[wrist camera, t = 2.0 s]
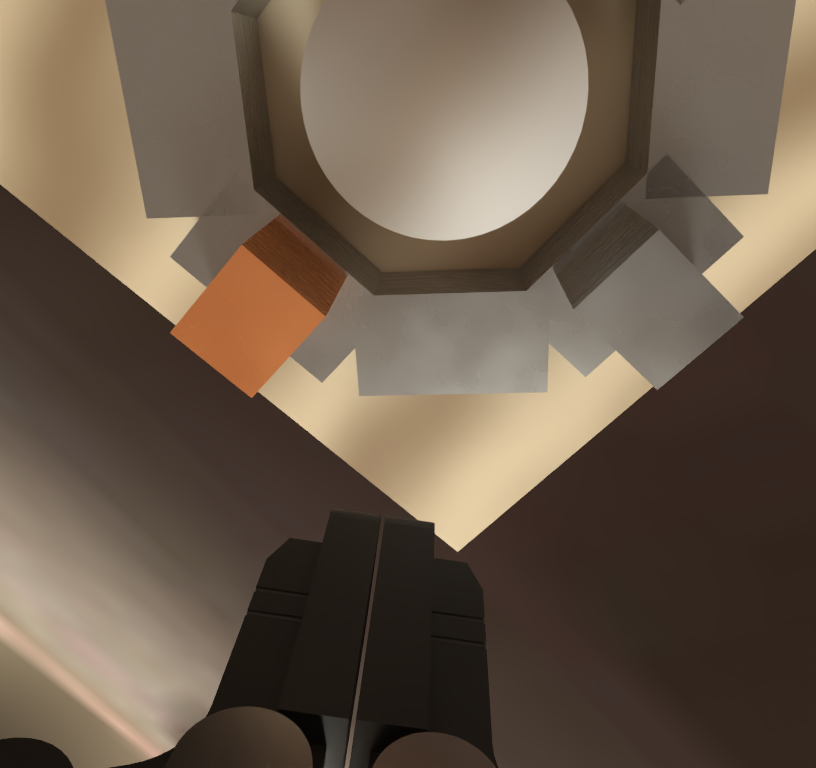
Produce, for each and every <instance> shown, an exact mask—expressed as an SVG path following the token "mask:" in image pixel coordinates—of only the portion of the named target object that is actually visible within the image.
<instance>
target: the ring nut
mask: <svg viewBox="0 0 816 768" xmlns="http://www.w3.org/2000/svg"><path fill="white" fill-rule="evenodd" d="M270 1H271V0H105V2H106V8H107V13H108V18H109V23H110V29H111V34H112V39H113V44H114V50H115V55H116V60H117V65H118V71H119V76H120V81H121V86H122V91H123V97H124V102H125V107H126V112H127V118H128V123H129V128H130V133H131V139H132V144H133V149H134V154H135V160H136V165H137V170H138V175H139V181H140V186H141V191H142V196H143V202H144V207H145V212H146V217H147V219H151V218H177V217H200V219H199V220H198V221H197V223H196V224H195V225H194V226H193V228H192V229H191V230H190V232H189V233H188V234H187V235H186V237H185V238H184V239H183V241H182V242H181V243H180V244H179V246H178V247H177V248H176V250H175V251H174V252H173V253H172V255H171V256H170V258H172V259H173V260H174V261H175V262H177V263H178V264H179V265H180V266H181V267H183V268H184V269H185V270H186V271H187V272H189V273H190V274H191V275H192V276H193V277H195V278H196V279H197V280H198V281H199V282H201V283H202V284H203V285H204V286H206V287H207V288H206V289H205V290H204V292H203V293H202V294H201V295H200V296H199V298H198V299H197V300H196V301H195V303H194V304H193V305H192V306H191V307H190V309H189V310H188V311H187V312H186V314H185V315H184V316H183V317H182V319H181V320H180V321H179V322H178V323H177V325H176V326H175V327H174V328H173V330H172V331H171V332H170V333H171V334H172V335H173V336H175V337H176V338H177V339H178V340H180V341H181V342H182V343H183V344H185V345H186V346H187V347H188V348H190V349H191V350H192V351H193V352H195V353H196V354H197V355H198V356H200V357H201V358H202V359H203V360H205V361H206V362H207V363H208V364H210V365H211V366H212V367H213V368H215V369H216V370H217V371H218V372H220V373H221V374H222V375H223V376H225V377H226V378H227V379H228V380H230V381H231V382H232V383H233V384H235V385H236V386H237V387H238V388H240V389H241V390H242V391H243V392H245V393H246V394H247V395H248V396H250V397H251V398H252V397H253V396H254V395H255V394H256V393H257V392H258V391H259V390H260V388H261V387H262V386H263V385H264V384H265V383H266V382H267V381H268V380H269V379H270V377H271V376H272V375H273V374H274V373H275V372H276V371H277V370H278V369H279V368H280V366H281V365H282V364H283V363H284V362H285V361H286V360H287V359H288V358H289V357H291V358H292V359H294V360H295V361H296V362H297V363H299V364H300V365H301V366H302V367H303V368H305V369H306V370H307V371H308V372H309V373H311V374H312V375H313V376H314V377H315V378H317V379H318V380H319V381H320V382H321V383H322V382H323V381H324V380H325V379H326V378H327V377H328V376H329V375H330V374H331V373H332V372H333V371H334V370H335V369H336V368H337V367H338V366H339V365H340V364H341V362H342V361H343V360H344V359H345V358H346V357H347V356H348V355H349V354H350V353H351V352H352V351H353V350H354V349H355V352H356V364H357V376H358V388H359V396H390V395H439V394H489V393H539V392H547V388H548V355H549V344H550V345H551V346H552V347H553V348H555V349H556V350H557V351H558V352H559V353H560V354H561V355H562V356H563V357H564V358H565V359H566V360H567V361H569V362H570V363H571V364H572V365H573V366H574V367H575V368H576V369H577V370H578V371H579V372H580V373H581V374H582V375H584V376H585V377H586V376H588V375H589V374H590V373H591V372H592V371H593V370H594V369H595V368H597V367H598V366H599V365H600V364H601V363H602V362H603V361H604V360H606V359H607V358H608V357H609V356H610V355H611V354H612V353H613V352H615V351H617V352H618V353H619V354H620V355H621V356H622V357H623V358H624V359H625V360H626V361H628V362H629V363H630V364H631V365H632V366H633V367H634V368H635V369H636V370H637V371H638V372H639V373H640V374H641V375H642V376H643V377H644V378H645V379H646V380H647V381H648V382H649V383H651V384H652V385H653V386H654V387H655V388H656V389H657V390H658V389H659V388H660V387H661V386H663V385H664V384H665V383H666V382H667V381H669V380H670V379H671V378H672V377H673V376H675V375H676V374H677V373H678V372H679V371H680V370H682V369H683V368H684V367H685V366H686V365H688V364H689V363H690V362H691V361H692V360H694V359H695V358H696V357H697V356H698V355H699V354H701V353H702V352H703V351H704V350H705V349H707V348H708V347H709V346H710V345H711V344H713V343H714V342H715V341H716V340H717V339H718V338H720V337H721V336H722V335H723V334H724V333H726V332H727V331H728V330H729V329H730V328H732V327H733V326H734V325H735V324H736V323H737V322H739V321H740V320H741V319H742V318H743V316H742V315H741V314H740V313H739V312H738V311H737V310H736V309H735V308H734V307H733V306H732V304H731V303H730V302H729V301H728V300H727V299H726V298H725V297H724V296H723V295H722V294H721V293H720V292H719V291H718V290H717V289H716V288H715V287H714V286H713V285H712V284H711V283H710V282H709V281H708V280H707V279H706V278H705V277H704V276H703V275H702V274H703V273H704V272H705V271H706V270H707V269H708V268H709V267H710V266H712V265H713V264H714V263H715V262H716V261H717V260H718V259H719V258H721V257H722V256H723V255H724V254H725V253H726V252H727V251H728V250H730V249H731V248H732V247H733V246H734V245H735V244H736V243H738V242H739V241H740V240H741V239H742V238H743V237H744V236H743V235H742V234H741V233H740V232H739V231H738V230H737V229H736V227H735V226H734V225H733V224H732V223H731V222H730V221H729V220H728V219H727V218H726V217H725V216H724V215H723V213H722V212H721V211H720V210H719V209H718V208H717V207H716V206H715V205H714V204H713V203H712V202H711V201H710V200H709V198H708V197H709V196H734V195H759V194H768V190H769V183H770V176H771V169H772V163H773V156H774V149H775V142H776V135H777V128H778V121H779V114H780V108H781V101H782V94H783V87H784V80H785V73H786V66H787V60H788V53H789V46H790V39H791V32H792V25H793V18H794V11H795V5H796V0H636V15H635V30H634V44H633V59H632V74H631V88H630V103H629V118H628V133H627V147H626V162H625V163H624V164H623V165H622V166H621V167H620V168H619V169H618V170H617V171H616V172H615V173H614V174H613V175H612V176H611V177H610V178H609V179H608V180H607V181H606V182H605V183H604V184H603V185H602V186H601V187H600V188H599V189H598V190H597V191H596V192H595V193H594V194H593V195H592V196H591V197H590V198H589V199H588V200H587V201H586V202H585V203H584V204H583V205H582V206H581V207H580V208H579V209H578V210H577V211H576V212H575V213H574V214H573V215H572V216H571V217H570V218H569V219H568V220H567V221H566V222H565V223H564V224H563V225H562V226H561V227H560V228H559V229H558V230H557V231H556V232H555V233H554V234H553V235H552V236H551V237H550V238H549V239H547V240H546V241H545V242H544V243H543V244H542V245H541V246H540V247H539V248H538V249H537V250H536V251H535V252H534V253H533V254H532V255H531V256H530V257H529V258H528V259H527V260H526V261H525V262H524V263H523V264H522V265H521V266H520V267H519V268H500V269H470V270H439V271H409V272H381V271H380V270H379V269H378V268H377V267H376V266H375V265H374V264H372V263H371V262H370V261H369V260H368V259H367V258H366V257H365V256H364V255H362V254H361V253H360V252H359V251H358V250H357V249H356V248H355V247H353V246H352V245H351V244H350V243H349V242H348V241H347V240H346V239H345V238H343V237H342V236H341V235H340V234H339V233H338V232H337V231H336V230H335V229H333V228H332V227H331V226H330V225H329V224H328V223H327V222H326V221H324V220H323V219H322V218H321V217H320V216H319V215H318V214H317V213H316V212H314V211H313V210H312V209H311V208H310V207H309V206H308V205H307V204H305V203H304V202H303V201H302V200H301V199H300V198H299V197H298V196H297V195H295V194H294V193H293V192H292V191H291V190H290V189H289V188H288V187H286V186H285V185H284V184H283V183H282V182H281V181H280V180H279V179H278V178H276V173H275V165H274V156H273V148H272V139H271V131H270V122H269V114H268V105H267V97H266V88H265V80H264V71H263V63H262V54H261V46H260V37H259V29H258V20H257V19H258V17H259V16H260V14H261V13H262V12H263V10H264V9H265V7H266V6H267V5H268V3H269V2H270Z"/></svg>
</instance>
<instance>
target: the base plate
mask: <svg viewBox="0 0 816 768" xmlns="http://www.w3.org/2000/svg"><path fill="white" fill-rule="evenodd" d="M635 15H636V0H271V1H270V2H269V3H268V5H267V6H266V7H265V9H264V10H263V12H262V13H261V14H260V16H259V17H258V19H257V20H258V29H259V37H260V46H261V54H262V63H263V71H264V80H265V88H266V97H267V105H268V114H269V122H270V131H271V139H272V148H273V156H274V165H275V173H276V178H278V179H279V180H280V181H281V182H282V183H283V184H284V185H285V186H286V187H288V188H289V189H290V190H291V191H292V192H293V193H294V194H295V195H297V196H298V197H299V198H300V199H301V200H302V201H303V202H304V203H305V204H307V205H308V206H309V207H310V208H311V209H312V210H313V211H314V212H316V213H317V214H318V215H319V216H320V217H321V218H322V219H323V220H324V221H326V222H327V223H328V224H329V225H330V226H331V227H332V228H333V229H335V230H336V231H337V232H338V233H339V234H340V235H341V236H342V237H343V238H345V239H346V240H347V241H348V242H349V243H350V244H351V245H352V246H353V247H355V248H356V249H357V250H358V251H359V252H360V253H361V254H362V255H364V256H365V257H366V258H367V259H368V260H369V261H370V262H371V263H372V264H374V265H375V266H376V267H377V268H378V269H379V270H380V271H381V272H409V271H439V270H470V269H500V268H519V267H520V266H521V265H522V264H523V263H524V262H525V261H526V260H527V259H528V258H529V257H530V256H531V255H532V254H533V253H534V252H535V251H536V250H537V249H538V248H539V247H540V246H541V245H542V244H543V243H544V242H545V241H546V240H547V239H549V238H550V237H551V236H552V235H553V234H554V233H555V232H556V231H557V230H558V229H559V228H560V227H561V226H562V225H563V224H564V223H565V222H566V221H567V220H568V219H569V218H570V217H571V216H572V215H573V214H574V213H575V212H576V211H577V210H578V209H579V208H580V207H581V206H582V205H583V204H584V203H585V202H586V201H587V200H588V199H589V198H590V197H591V196H592V195H593V194H594V193H595V192H596V191H597V190H598V189H599V188H600V187H601V186H602V185H603V184H604V183H605V182H606V181H607V180H608V179H609V178H610V177H611V176H612V175H613V174H614V173H615V172H616V171H617V170H618V169H619V168H620V167H621V166H622V165H623V164H624V163H625V162H626V147H627V133H628V118H629V103H630V88H631V74H632V59H633V44H634V30H635ZM0 185H2V186H3V187H4V188H5V189H7V190H8V191H9V192H10V193H12V194H13V195H14V196H15V197H17V198H18V199H19V200H20V201H22V202H23V203H24V204H25V205H27V206H28V207H29V208H30V209H32V210H33V211H34V212H35V213H37V214H38V215H39V216H40V217H41V218H43V219H44V220H45V221H46V222H48V223H49V224H50V225H51V226H53V227H54V228H55V229H56V230H58V231H59V232H60V233H61V234H63V235H64V236H65V237H66V238H68V239H69V240H70V241H71V242H73V243H74V244H75V245H76V246H78V247H79V248H80V249H81V250H83V251H84V252H85V253H86V254H88V255H89V256H90V257H91V258H93V259H94V260H95V261H96V262H98V263H99V264H100V265H101V266H102V267H104V268H105V269H106V270H107V271H109V272H110V273H111V274H112V275H114V276H115V277H116V278H117V279H119V280H120V281H121V282H122V283H124V284H125V285H126V286H127V287H129V288H130V289H131V290H132V291H134V292H135V293H136V294H137V295H139V296H140V297H141V298H142V299H144V300H145V301H146V302H147V303H149V304H150V305H151V306H152V307H154V308H155V309H156V310H157V311H159V312H160V313H161V314H162V315H163V316H165V317H166V318H167V319H168V320H170V321H171V322H172V323H173V324H175V325H177V323H178V322H179V321H180V320H181V319H182V317H183V316H184V315H185V314H186V312H187V311H188V310H189V309H190V307H191V306H192V305H193V304H194V303H195V301H196V300H197V299H198V298H199V296H200V295H201V294H202V293H203V292H204V290H205V289H206V288H207V287H206V286H204V285H203V284H202V283H201V282H199V281H198V280H197V279H196V278H195V277H193V276H192V275H191V274H190V273H189V272H187V271H186V270H185V269H184V268H183V267H181V266H180V265H179V264H178V263H177V262H175V261H174V260H173V259H172V258H170V256H171V255H172V253H173V252H174V251H175V250H176V248H177V247H178V246H179V244H180V243H181V242H182V241H183V239H184V238H185V237H186V235H187V234H188V233H189V232H190V230H191V229H192V228H193V226H194V225H195V224H196V223H197V221H198V220H199V219H200V217H177V218H151V219H147V217H146V212H145V207H144V202H143V196H142V191H141V186H140V181H139V175H138V170H137V165H136V160H135V154H134V149H133V144H132V139H131V133H130V128H129V123H128V118H127V112H126V107H125V102H124V97H123V91H122V86H121V81H120V76H119V71H118V65H117V60H116V55H115V50H114V44H113V39H112V34H111V29H110V23H109V18H108V13H107V8H106V2H105V0H0ZM708 198H709V200H710V201H711V202H712V203H713V204H714V205H715V206H716V207H717V208H718V209H719V210H720V211H721V212H722V213H723V215H724V216H725V217H726V218H727V219H728V220H729V221H730V222H731V223H732V224H733V225H734V226H735V227H736V229H737V230H738V231H739V232H740V233H741V234H742V235H743V236H744V237H743V238H742V239H741V240H740V241H739V242H738V243H736V244H735V245H734V246H733V247H732V248H731V249H730V250H728V251H727V252H726V253H725V254H724V255H723V256H722V257H721V258H719V259H718V260H717V261H716V262H715V263H714V264H713V265H712V266H710V267H709V268H708V269H707V270H706V271H705V272H704V273H703V274H702V275H703V276H704V277H705V278H706V279H707V280H708V281H709V282H710V283H711V284H712V285H713V286H714V287H715V288H716V289H717V290H718V291H719V292H720V293H721V294H722V295H723V296H724V297H725V298H726V299H727V300H728V301H729V302H730V303H731V304H732V306H733V307H734V308H735V309H736V310H737V311H738V312H739V313H740V312H742V311H743V310H744V309H745V308H746V307H748V306H749V305H750V304H751V303H752V302H753V301H755V300H756V299H757V298H758V297H759V296H761V295H762V294H763V293H764V292H765V291H766V290H768V289H769V288H770V287H771V286H772V285H774V284H775V283H776V282H777V281H778V280H779V279H781V278H782V277H783V276H784V275H785V274H787V273H788V272H789V271H790V270H791V269H792V268H794V267H795V266H796V265H797V264H798V263H800V262H801V261H802V260H803V259H804V258H805V257H807V256H808V255H809V254H810V253H811V252H813V251H814V250H815V249H816V0H796V5H795V11H794V18H793V25H792V32H791V39H790V46H789V53H788V60H787V66H786V73H785V80H784V87H783V94H782V101H781V108H780V114H779V121H778V128H777V135H776V142H775V149H774V156H773V163H772V169H771V176H770V183H769V190H768V194H759V195H734V196H709V197H708ZM652 387H653V385H652V384H651V383H649V382H648V381H647V380H646V379H645V378H644V377H643V376H642V375H641V374H640V373H639V372H638V371H637V370H636V369H635V368H634V367H633V366H632V365H631V364H630V363H629V362H628V361H626V360H625V359H624V358H623V357H622V356H621V355H620V354H619V353H618V352H617V351H615V352H613V353H612V354H611V355H610V356H609V357H608V358H607V359H606V360H604V361H603V362H602V363H601V364H600V365H599V366H598V367H597V368H595V369H594V370H593V371H592V372H591V373H590V374H589V375H588V376H586V377H585V376H584V375H582V374H581V373H580V372H579V371H578V370H577V369H576V368H575V367H574V366H573V365H572V364H571V363H570V362H569V361H567V360H566V359H565V358H564V357H563V356H562V355H561V354H560V353H559V352H558V351H557V350H556V349H555V348H553V347H552V346H551V345H550V344H549V355H548V388H547V392H539V393H489V394H439V395H390V396H359V388H358V376H357V364H356V352H355V349H354V350H353V351H352V352H351V353H350V354H349V355H348V356H347V357H346V358H345V359H344V360H343V361H342V362H341V364H340V365H339V366H338V367H337V368H336V369H335V370H334V371H333V372H332V373H331V374H330V375H329V376H328V377H327V378H326V379H325V380H324V381H323V382H322V383H321V382H320V381H319V380H318V379H317V378H315V377H314V376H313V375H312V374H311V373H309V372H308V371H307V370H306V369H305V368H303V367H302V366H301V365H300V364H299V363H297V362H296V361H295V360H294V359H292V358H291V357H289V358H288V359H287V360H286V361H285V362H284V363H283V364H282V365H281V366H280V368H279V369H278V370H277V371H276V372H275V373H274V374H273V375H272V376H271V377H270V379H269V380H268V381H267V382H266V383H265V384H264V385H263V386H262V387H261V388H260V390H259V391H258V392H259V393H261V394H262V395H263V396H264V397H266V398H267V399H268V400H269V401H271V402H272V403H273V404H274V405H276V406H277V407H278V408H279V409H281V410H282V411H283V412H284V413H285V414H287V415H288V416H289V417H290V418H292V419H293V420H294V421H295V422H297V423H298V424H299V425H300V426H302V427H303V428H304V429H305V430H307V431H308V432H309V433H310V434H312V435H313V436H314V437H315V438H317V439H318V440H319V441H320V442H322V443H323V444H324V445H325V446H327V447H328V448H329V449H330V450H332V451H333V452H334V453H335V454H337V455H338V456H339V457H340V458H342V459H343V460H344V461H345V462H346V463H348V464H349V465H350V466H351V467H353V468H354V469H355V470H356V471H358V472H359V473H360V474H361V475H363V476H364V477H365V478H366V479H368V480H369V481H370V482H371V483H373V484H374V485H375V486H376V487H378V488H379V489H380V490H381V491H383V492H384V493H385V494H386V495H388V496H389V497H390V498H391V499H393V500H394V501H395V502H396V503H398V504H399V505H400V506H401V507H403V508H404V509H405V510H406V511H408V512H409V513H410V514H411V515H412V516H414V517H415V518H416V519H417V520H420V521H427V522H434V523H435V534H436V535H437V536H439V537H440V538H441V539H442V540H444V541H445V542H446V543H447V544H449V545H450V546H451V547H452V548H454V549H455V550H456V551H457V552H458V551H459V550H460V549H462V548H463V547H464V546H465V545H466V544H467V543H469V542H470V541H471V540H472V539H473V538H475V537H476V536H477V535H478V534H479V533H480V532H482V531H483V530H484V529H485V528H486V527H488V526H489V525H490V524H491V523H492V522H493V521H495V520H496V519H497V518H498V517H499V516H501V515H502V514H503V513H504V512H505V511H506V510H508V509H509V508H510V507H511V506H512V505H514V504H515V503H516V502H517V501H518V500H519V499H521V498H522V497H523V496H524V495H525V494H527V493H528V492H529V491H530V490H531V489H532V488H534V487H535V486H536V485H537V484H538V483H540V482H541V481H542V480H543V479H544V478H545V477H547V476H548V475H549V474H550V473H551V472H553V471H554V470H555V469H556V468H557V467H558V466H560V465H561V464H562V463H563V462H564V461H566V460H567V459H568V458H569V457H570V456H571V455H573V454H574V453H575V452H576V451H577V450H579V449H580V448H581V447H582V446H583V445H584V444H586V443H587V442H588V441H589V440H590V439H592V438H593V437H594V436H595V435H596V434H597V433H599V432H600V431H601V430H602V429H603V428H605V427H606V426H607V425H608V424H609V423H610V422H612V421H613V420H614V419H615V418H616V417H618V416H619V415H620V414H621V413H622V412H623V411H625V410H626V409H627V408H628V407H629V406H631V405H632V404H633V403H634V402H635V401H636V400H638V399H639V398H640V397H641V396H642V395H644V394H645V393H646V392H647V391H648V390H649V389H651V388H652Z"/></svg>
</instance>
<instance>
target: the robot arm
mask: <svg viewBox="0 0 816 768" xmlns="http://www.w3.org/2000/svg"><path fill="white" fill-rule="evenodd" d="M380 521H381V515H376V514H369V513H362V512H355V511H348V510H341V509H334V508H332V510H331V513H330V517H329V520H328V524H327V528H326V532H325V535H324V539H323V543H321V542H314V541H307V540H300V539H292V538H289V539H288V540H287V541H286V542H285V543H284V544H283V545H282V546H281V547H280V548H278V549H277V550H276V551H275V552H274V553H273V554H272V555H271V556H270V557H268V558H267V560H266V562H265V565H264V568H263V570H262V573H261V576H260V578H259V581H258V584H257V586H256V591H255V592H254V594H253V597H252V600H251V602H250V605H249V608H248V612H247V615H246V616H245V618H244V621H243V624H242V626H241V629H240V632H239V634H238V637H237V640H236V642H235V645H234V648H233V650H232V653H231V656H230V658H229V661H228V664H227V666H226V669H225V672H224V674H223V677H222V680H221V682H220V685H219V688H218V690H217V693H216V696H215V698H214V701H213V704H212V706H211V708H210V710H209V712H208V714H207V716H206V717H205V718H204V719H202V720H201V721H199V722H197V723H196V724H195V725H194V726H192V727H191V728H190V729H189V730H188V731H187V732H186V733H185V734H184V735H183V736H182V738H181V739H180V740H179V741H178V743H177V745H176V746H175V747H174V748H173V749H171V750H169V751H167V752H165V753H163V754H161V755H159V756H157V757H154V758H151V759H148V760H146V761H143V762H138V763H134V764H130V765H124V766H117V767H111V768H344V767H345V760H346V754H347V747H348V741H349V734H350V727H351V721H352V714H353V708H354V701H355V695H356V688H357V681H358V675H359V668H360V662H361V655H362V649H363V642H364V635H365V629H366V622H367V615H368V608H369V601H370V594H371V586H372V579H373V572H374V565H375V557H376V550H377V543H378V536H379V529H380ZM434 535H435V523H434V522H427V521H420V520H413V519H405V518H398V517H391V516H386V517H385V524H384V531H383V538H382V545H381V551H380V558H379V565H378V572H377V579H376V586H375V593H374V600H373V606H372V613H371V620H370V627H369V634H368V641H367V648H366V655H365V662H364V668H363V675H362V682H361V689H360V696H359V703H358V710H357V717H356V724H355V731H354V738H353V745H352V752H351V759H350V766H349V768H498V766H497V763H496V760H495V757H494V752H493V745H492V731H491V715H490V698H489V682H488V666H487V649H486V633H485V624H484V619H485V617H484V601H483V589H482V587H481V586H480V584H479V582H478V581H477V579H476V577H475V576H474V574H473V572H472V571H471V569H470V568H469V566H468V564H467V563H463V562H456V561H449V560H442V559H435V558H434ZM0 768H73V766H72V764H71V762H70V761H69V759H68V757H67V756H66V755H65V754H64V753H63V752H62V751H61V750H59V749H58V748H56V747H55V746H53V745H52V744H49V743H47V742H44V741H42V740H36V739H32V738H8V739H1V740H0Z"/></svg>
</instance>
